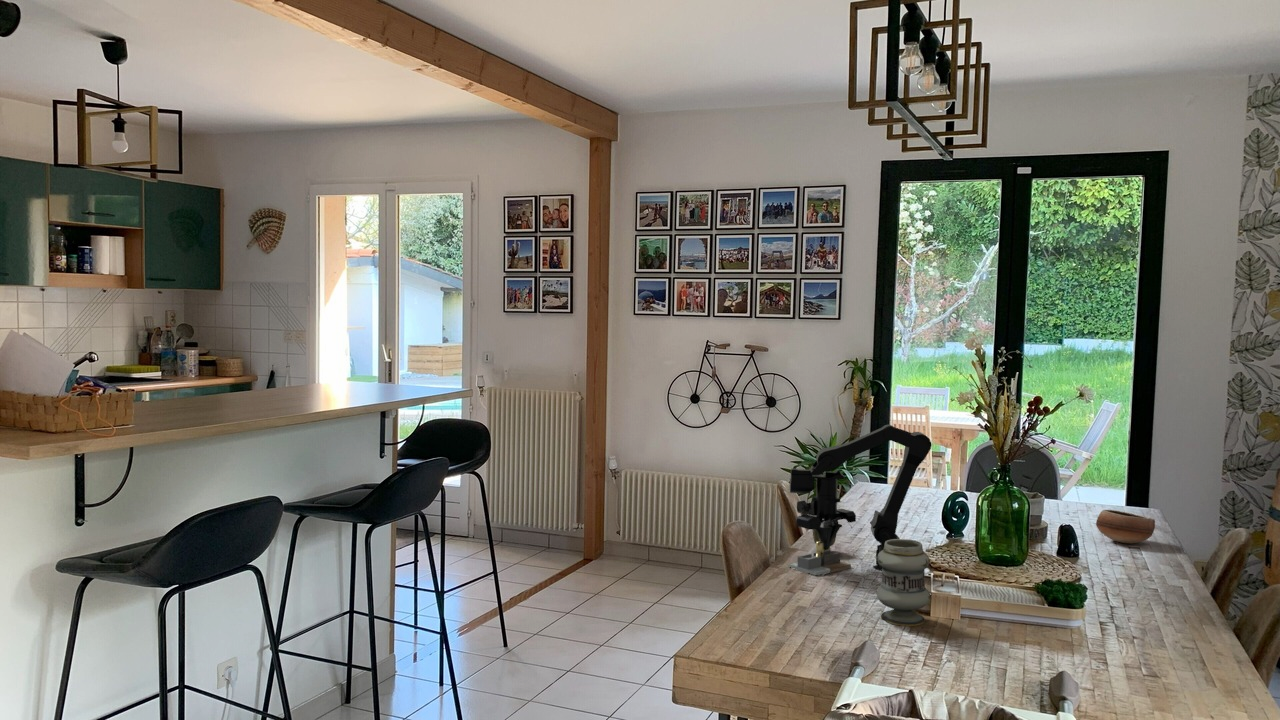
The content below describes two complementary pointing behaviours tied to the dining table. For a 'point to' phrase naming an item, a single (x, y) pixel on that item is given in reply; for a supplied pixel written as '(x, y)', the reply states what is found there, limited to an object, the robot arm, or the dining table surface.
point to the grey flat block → (833, 561)
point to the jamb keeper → (810, 565)
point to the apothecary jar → (903, 581)
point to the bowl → (1125, 526)
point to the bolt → (818, 551)
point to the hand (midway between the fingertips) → (825, 549)
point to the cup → (817, 538)
